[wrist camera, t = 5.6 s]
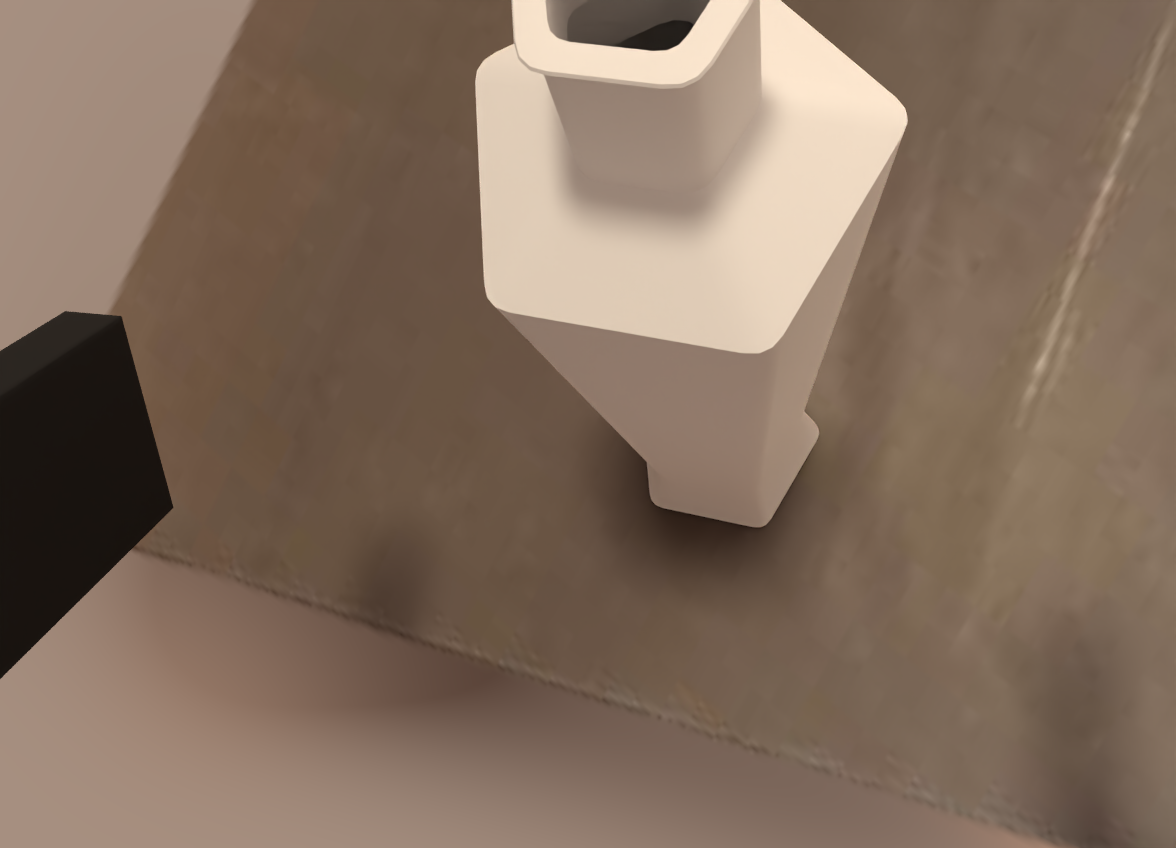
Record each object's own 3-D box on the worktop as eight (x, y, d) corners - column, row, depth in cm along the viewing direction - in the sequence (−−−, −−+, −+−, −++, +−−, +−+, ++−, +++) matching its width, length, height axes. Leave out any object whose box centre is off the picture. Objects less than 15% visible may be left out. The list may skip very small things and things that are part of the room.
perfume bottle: (851, 535, 21) (1009, 188, 7) (641, 555, 22) (389, 276, 8) (821, 328, 22) (904, -325, 8) (624, 353, 23) (380, -212, 9)
